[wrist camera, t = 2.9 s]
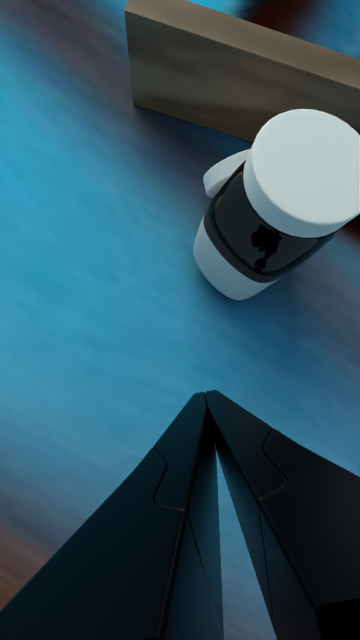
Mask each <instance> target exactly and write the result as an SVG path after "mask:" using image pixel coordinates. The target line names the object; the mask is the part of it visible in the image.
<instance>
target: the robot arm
mask: <svg viewBox="0 0 360 640" xmlns="http://www.w3.org/2000/svg"><path fill="white" fill-rule="evenodd" d="M214 441H215V442H214ZM215 446H216V448H215ZM216 451H217V455H218V458H219V461H220V464H221V467H222V470H223V473H224V477H225V480H226V483H227V486H228V489H229V492H230V495H231V498H232V501H233V504H234V508H235V511H236V514H237V517H238V520H239V523H240V526H241V529H242V532H243V535H244V539H245V542H246V545H247V548H248V551H249V554H250V557H251V560H252V563H253V566H254V570H255V573H256V576H257V579H258V582H259V585H260V588H261V591H262V594H263V597H264V601H265V604H266V607H267V610H268V613H269V616H270V619H271V622H272V625H273V628H274V632H275V634H276V637H277V640H360V477H359V476H357V475H355V474H353V473H351V472H349V471H347V470H346V469H344V468H342V467H340V466H338V465H336V464H334V463H332V462H330V461H329V460H327V459H325V458H323V457H321V456H319V455H317V454H316V453H314V452H312V451H310V450H308V449H307V448H305V447H303V446H301V445H299V444H298V443H296V442H295V441H293V440H291V439H290V438H288V437H287V436H285V435H283V434H282V433H280V432H279V431H277V430H276V429H273V428H272V427H271V426H269V425H268V424H266V423H265V422H263V421H262V420H260V419H259V418H257V417H256V416H254V415H253V414H251V413H250V412H248V411H247V410H245V409H244V408H242V407H241V406H239V405H238V404H236V403H235V402H233V401H232V400H230V399H229V398H227V397H226V396H225V395H223V394H222V393H220V392H219V391H217V390H212V391H207V392H206V394H205V392H200V393H195V394H194V395H193V396H192V397H191V399H190V400H189V401H188V402H187V404H186V405H185V406H184V408H183V409H182V410H181V411H180V413H179V414H178V415H177V417H176V418H175V419H174V420H173V422H172V423H171V424H170V426H169V427H168V428H167V429H166V431H165V432H164V433H163V435H162V436H161V437H160V439H159V440H158V441H157V442H156V444H155V445H154V446H153V448H151V449H150V451H149V452H148V453H147V455H146V456H145V457H144V458H143V460H142V461H141V462H140V463H139V464H138V466H137V467H136V468H135V469H134V470H133V471H132V473H131V474H130V475H129V476H128V477H127V478H126V479H125V480H124V481H123V482H122V484H121V485H120V486H119V487H118V488H117V489H116V490H115V491H114V492H113V493H112V494H111V495H110V496H109V497H108V498H107V499H106V500H105V501H104V503H103V504H102V505H101V506H100V507H99V508H98V509H97V510H96V511H95V512H94V513H93V514H92V515H91V516H90V517H89V518H88V519H87V520H86V521H85V522H84V524H83V525H82V526H81V527H80V528H79V529H78V530H77V531H76V532H75V533H74V534H73V535H72V536H71V537H70V538H69V539H68V540H67V541H66V542H65V544H64V545H63V546H62V547H61V548H60V549H59V550H58V551H57V552H56V553H55V554H54V555H53V556H52V557H51V558H50V559H49V560H48V561H47V562H46V563H45V565H44V566H43V567H42V568H41V569H40V570H39V571H38V572H37V573H36V574H35V575H34V576H33V577H32V578H31V579H30V580H29V581H28V582H27V583H26V584H25V586H24V587H23V588H22V589H21V590H20V591H19V592H18V593H17V594H16V595H15V596H14V597H13V598H12V599H11V600H10V601H9V602H8V603H7V604H6V606H5V607H4V608H3V609H2V610H1V611H0V640H224V630H223V606H222V581H221V557H220V532H219V508H218V483H217V459H216Z"/></svg>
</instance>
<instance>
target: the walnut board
mask: <svg viewBox="0 0 360 640" xmlns="http://www.w3.org/2000/svg"><path fill="white" fill-rule="evenodd" d="M124 11H125V22H126V32H127V42H128V53H129V63H130V74H131V84H132V94H133V105H137V106H140V107H143V108H146V109H149V110H152V111H155V112H159V113H162V114H165V115H168V116H171V117H174V118H178V119H181V120H184V121H187V122H190V123H193V124H196V125H200V126H203V127H206V128H209V129H212V130H215V131H218V132H222V133H225V134H228V135H231V136H234V137H237V138H241V139H244V140H247V141H250V142H253V143H254V141H255V138H256V136H257V134H258V133H259V131H260V130H261V128H262V127H263V126H264V125H265V124H266V123H267V122H268V121H269V120H270V119H272V118H273V117H275V116H277V115H279V114H281V113H284V112H287V111H290V110H297V109H313V110H318V111H322V112H326V113H328V114H330V115H333V116H335V117H337V118H339V119H341V120H342V121H344V122H345V123H347V124H348V125H349V126H351V127H352V128H353V129H354V130H355V131H356V132H357V133H358V134H359V135H360V60H359V59H356V58H354V57H351V56H348V55H345V54H342V53H339V52H336V51H333V50H330V49H327V48H324V47H321V46H318V45H315V44H313V43H310V42H307V41H304V40H301V39H298V38H295V37H292V36H289V35H286V34H283V33H280V32H277V31H274V30H272V29H269V28H266V27H263V26H260V25H257V24H254V23H251V22H248V21H245V20H242V19H239V18H236V17H233V16H231V15H228V14H225V13H222V12H219V11H216V10H213V9H210V8H207V7H204V6H201V5H198V4H195V3H192V2H190V1H187V0H128V3H127V5H126V7H125V10H124Z"/></svg>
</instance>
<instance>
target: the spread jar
mask: <svg viewBox="0 0 360 640" xmlns="http://www.w3.org/2000/svg"><path fill="white" fill-rule="evenodd" d="M203 181H204V186H205V191H206V195H207V196H208V197H210V198H213V200H212V201H211V203H210V205H209V206H208V208H207V210H206V212H205V214H204V216H203V219H202V221H201V224H200V226H199V229H198V233H197V236H196V239H195V242H194V248H193V254H194V258H195V261H196V263H197V265H198V267H199V269H200V270H201V272H202V273H203V275H204V276H205V277H206V279H207V280H208V281H209V282H210V283H211V284H212V285H213V286H214V287H215V288H216V289H217V290H219V291H220V292H221V293H223V294H224V295H226V296H227V297H229V298H231V299H234V300H245V299H247V298H250V297H252V296H254V295H256V294H257V293H259V292H260V291H262V290H263V289H265V288H266V287H268V286H270V285H271V284H273V283H274V282H276V281H277V280H279V279H280V278H282V277H283V276H285V275H286V274H288V273H289V272H291V271H292V270H294V269H295V268H296V267H298V266H299V265H301V264H302V263H304V262H305V261H306V260H307V259H309V258H310V257H311V256H312V255H314V254H315V253H316V252H317V251H319V250H320V249H321V248H322V247H323V246H324V245H325V244H326V243H327V242H328V241H329V240H331V239H332V238H333V236H334V235H335V233H336V232H337V231H338V230H339V228H340V227H342V226H343V225H344V224H346V223H347V222H349V221H350V220H351V219H353V218H354V217H356V216H357V215H358V214H360V135H359V134H358V133H357V132H356V131H355V130H354V129H353V128H352V127H351V126H349V125H348V124H347V123H345V122H344V121H342V120H341V119H339V118H337V117H335V116H333V115H330V114H328V113H326V112H322V111H318V110H313V109H297V110H290V111H287V112H284V113H281V114H279V115H277V116H275V117H273V118H272V119H270V120H269V121H268V122H267V123H266V124H265V125H264V126H263V127H262V128H261V130H260V131H259V133H258V134H257V136H256V138H255V141H254V143H253V145H252V147H251V149H248V150H245V151H242V152H239V153H237V154H234V155H232V156H230V157H228V158H226V159H224V160H222V161H220V162H219V163H217V164H216V165H214V166H213V167H212V168H210V169H209V170H208V171H207V172H206V174H205V175H204V178H203Z"/></svg>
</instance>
